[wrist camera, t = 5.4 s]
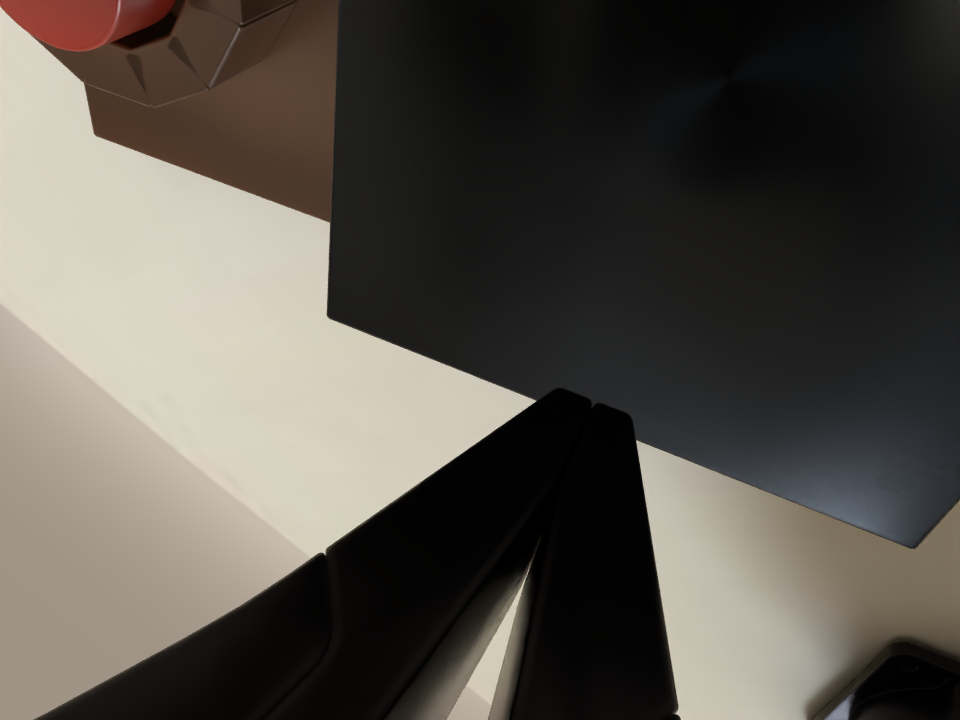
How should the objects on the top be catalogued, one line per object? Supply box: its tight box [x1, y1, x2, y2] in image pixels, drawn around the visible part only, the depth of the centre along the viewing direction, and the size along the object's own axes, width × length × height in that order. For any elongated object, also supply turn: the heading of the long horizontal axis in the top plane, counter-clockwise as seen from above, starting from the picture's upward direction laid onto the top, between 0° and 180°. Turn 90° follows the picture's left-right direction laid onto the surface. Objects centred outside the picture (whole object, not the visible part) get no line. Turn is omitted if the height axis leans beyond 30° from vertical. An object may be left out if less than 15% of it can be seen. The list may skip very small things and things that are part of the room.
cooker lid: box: [327, 0, 960, 549], centre depth 10 cm, size 12×11×1 cm
